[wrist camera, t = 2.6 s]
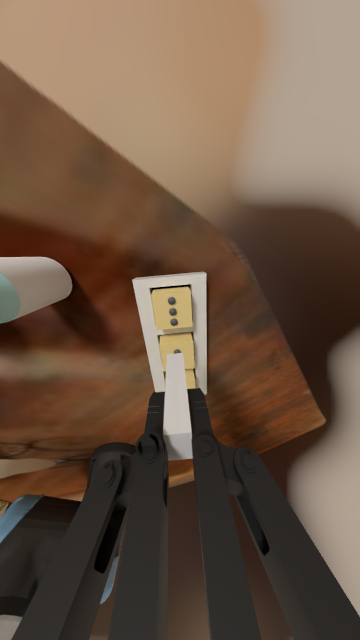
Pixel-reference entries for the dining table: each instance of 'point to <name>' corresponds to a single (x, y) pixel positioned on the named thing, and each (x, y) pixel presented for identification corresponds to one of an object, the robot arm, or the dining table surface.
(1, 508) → the juice carton
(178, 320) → the three pip key
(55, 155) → the dining table surface
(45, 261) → the can
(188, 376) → the one pip key
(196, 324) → the keypad base
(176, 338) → the two pip key
